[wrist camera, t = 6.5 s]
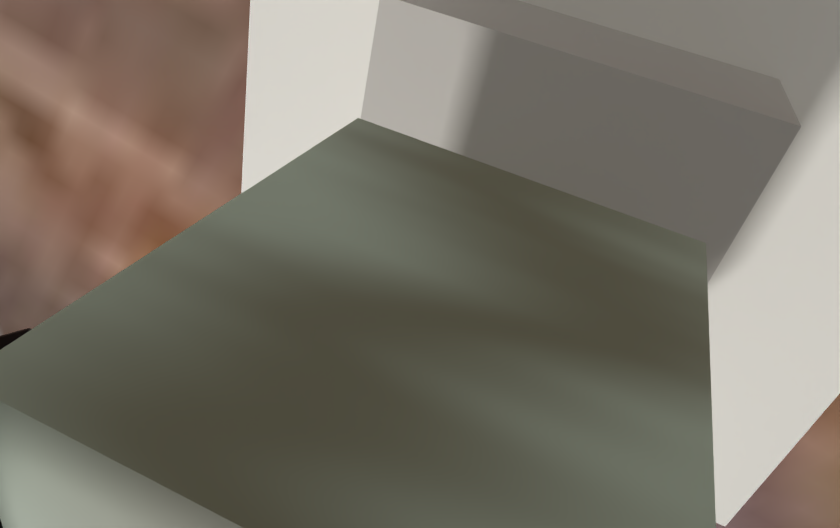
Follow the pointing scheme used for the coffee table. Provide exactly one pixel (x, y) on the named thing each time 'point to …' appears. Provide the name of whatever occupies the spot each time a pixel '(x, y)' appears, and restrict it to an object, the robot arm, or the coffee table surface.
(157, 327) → the sage block
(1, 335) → the robot arm
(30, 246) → the coffee table surface
